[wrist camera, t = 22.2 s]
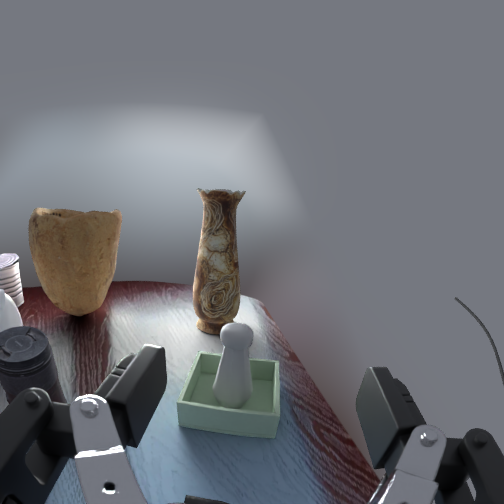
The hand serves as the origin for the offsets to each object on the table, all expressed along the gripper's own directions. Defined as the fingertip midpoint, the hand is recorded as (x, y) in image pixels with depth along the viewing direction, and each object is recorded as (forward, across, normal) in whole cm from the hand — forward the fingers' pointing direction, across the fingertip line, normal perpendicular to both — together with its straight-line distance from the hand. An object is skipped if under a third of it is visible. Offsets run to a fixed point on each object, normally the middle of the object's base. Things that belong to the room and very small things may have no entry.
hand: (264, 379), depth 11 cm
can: (+38, +66, +25) cm, 80 cm away
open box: (+25, +3, +25) cm, 35 cm away
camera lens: (+9, +26, +25) cm, 37 cm away
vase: (+50, +10, +25) cm, 57 cm away
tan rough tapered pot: (+44, +42, +25) cm, 65 cm away
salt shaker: (+24, +3, +24) cm, 34 cm away
